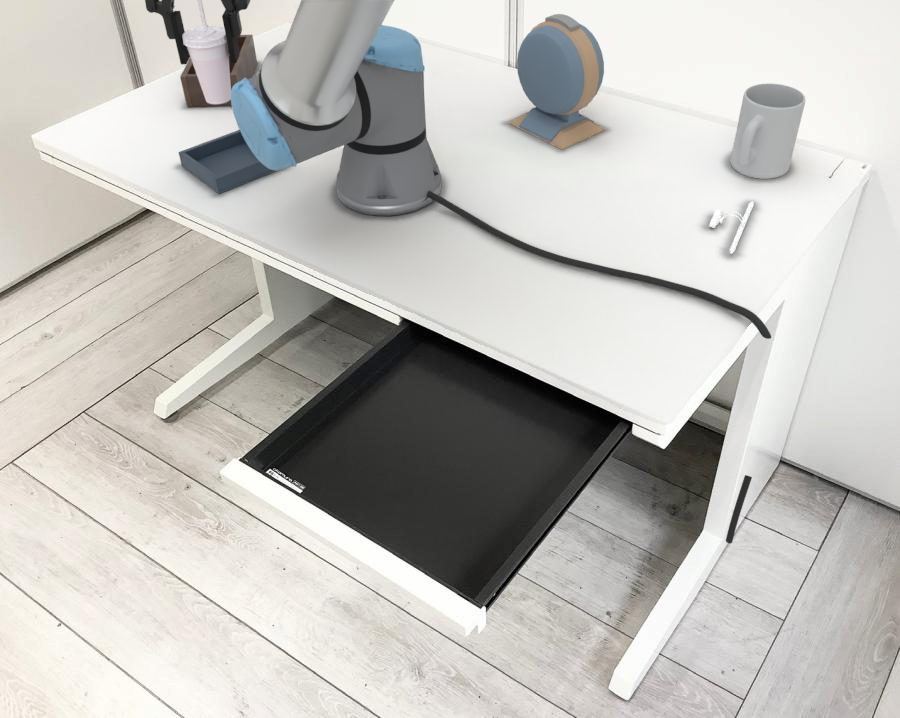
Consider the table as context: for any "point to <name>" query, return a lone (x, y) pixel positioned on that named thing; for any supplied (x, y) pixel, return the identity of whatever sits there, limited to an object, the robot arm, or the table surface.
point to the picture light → (717, 219)
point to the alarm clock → (559, 80)
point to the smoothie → (210, 59)
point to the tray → (223, 162)
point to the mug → (767, 130)
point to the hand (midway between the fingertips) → (210, 59)
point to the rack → (237, 73)
